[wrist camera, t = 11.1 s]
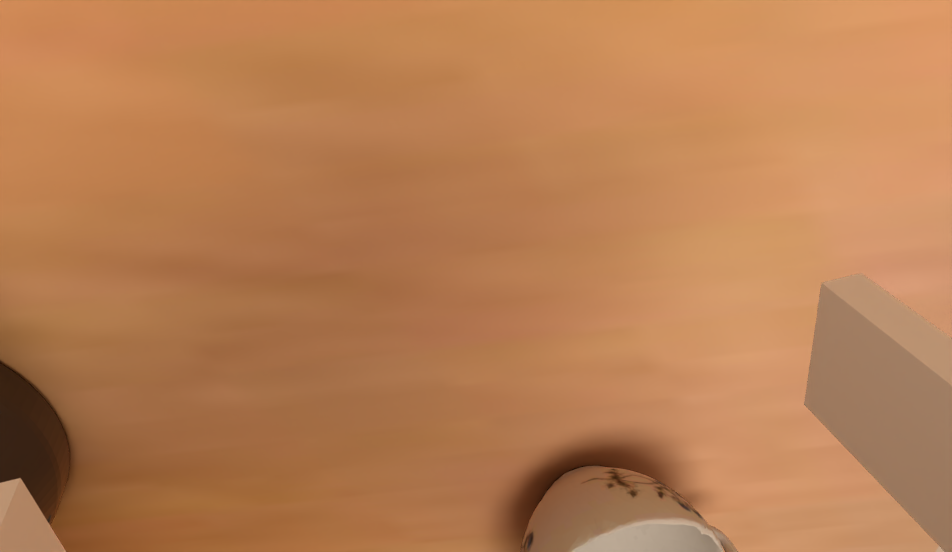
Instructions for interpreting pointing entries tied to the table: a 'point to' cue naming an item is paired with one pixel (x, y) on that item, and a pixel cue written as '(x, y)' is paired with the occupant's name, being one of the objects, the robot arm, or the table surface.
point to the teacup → (617, 516)
